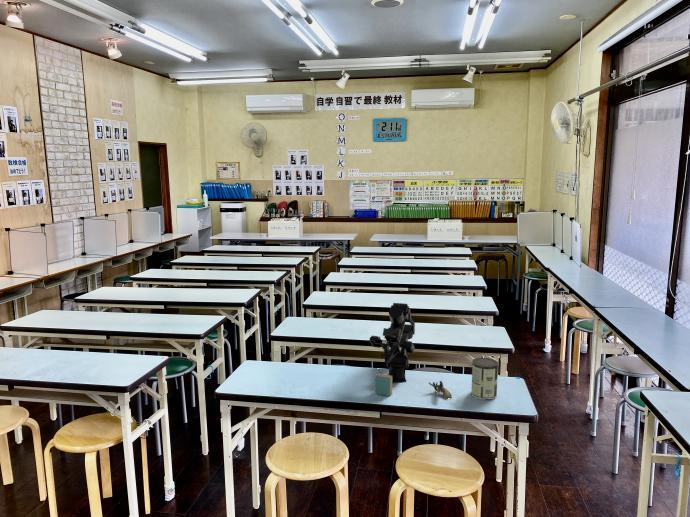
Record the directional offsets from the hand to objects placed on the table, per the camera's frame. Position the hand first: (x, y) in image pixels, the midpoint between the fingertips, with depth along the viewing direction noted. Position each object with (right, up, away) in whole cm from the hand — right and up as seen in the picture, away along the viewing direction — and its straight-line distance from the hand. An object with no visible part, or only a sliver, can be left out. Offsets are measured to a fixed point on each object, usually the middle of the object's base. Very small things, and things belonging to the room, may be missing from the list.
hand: (386, 362), depth 210 cm
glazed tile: (-1, -13, 0) cm, 13 cm away
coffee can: (+40, -13, -1) cm, 42 cm away
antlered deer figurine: (+22, -13, -1) cm, 26 cm away
